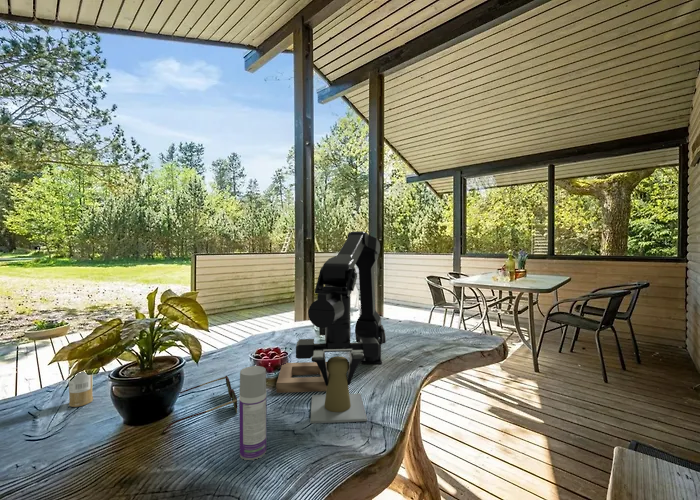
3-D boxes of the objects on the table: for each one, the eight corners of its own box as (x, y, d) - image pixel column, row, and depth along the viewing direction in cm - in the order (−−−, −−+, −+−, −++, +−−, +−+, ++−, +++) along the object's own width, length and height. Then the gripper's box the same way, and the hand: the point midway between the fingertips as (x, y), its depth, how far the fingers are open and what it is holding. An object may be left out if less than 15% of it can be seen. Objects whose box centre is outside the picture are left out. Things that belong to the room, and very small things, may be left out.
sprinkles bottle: (95, 397, 82) (94, 342, 82) (90, 405, 78) (89, 347, 78) (71, 400, 80) (70, 344, 80) (65, 409, 76) (64, 350, 76)
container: (243, 445, 63) (242, 366, 63) (268, 444, 63) (268, 365, 63) (236, 461, 58) (236, 376, 58) (264, 460, 59) (264, 375, 58)
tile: (360, 395, 84) (360, 393, 84) (367, 421, 72) (367, 418, 72) (312, 397, 83) (312, 395, 83) (310, 423, 71) (310, 421, 71)
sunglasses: (239, 419, 73) (237, 397, 73) (160, 444, 66) (158, 419, 66) (228, 393, 86) (226, 373, 85) (161, 411, 79) (159, 390, 78)
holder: (330, 370, 100) (330, 361, 100) (332, 391, 86) (332, 381, 86) (282, 371, 99) (282, 363, 99) (276, 392, 85) (276, 383, 85)
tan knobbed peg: (351, 399, 80) (352, 353, 80) (349, 412, 74) (349, 363, 74) (326, 398, 81) (326, 353, 80) (322, 411, 75) (322, 362, 74)
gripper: (373, 309, 86) (372, 370, 86) (298, 310, 84) (299, 372, 84) (380, 319, 74) (380, 389, 75) (295, 321, 73) (295, 392, 73)
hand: (337, 384), depth 77 cm, fingers open, 5 cm apart
